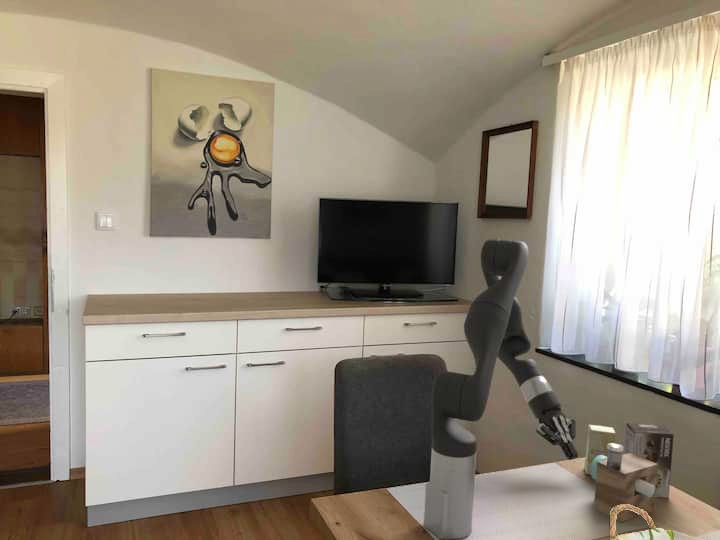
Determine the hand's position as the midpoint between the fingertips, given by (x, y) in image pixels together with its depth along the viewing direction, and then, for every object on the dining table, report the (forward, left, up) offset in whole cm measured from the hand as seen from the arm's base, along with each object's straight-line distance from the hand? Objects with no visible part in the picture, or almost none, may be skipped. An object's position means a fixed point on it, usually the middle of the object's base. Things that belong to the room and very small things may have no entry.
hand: (573, 458), depth 147 cm
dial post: (-5, -15, +5) cm, 16 cm away
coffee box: (+13, -11, -6) cm, 18 cm away
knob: (0, -14, -2) cm, 14 cm away
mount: (0, -15, -6) cm, 16 cm away
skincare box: (+11, +1, -6) cm, 13 cm away
